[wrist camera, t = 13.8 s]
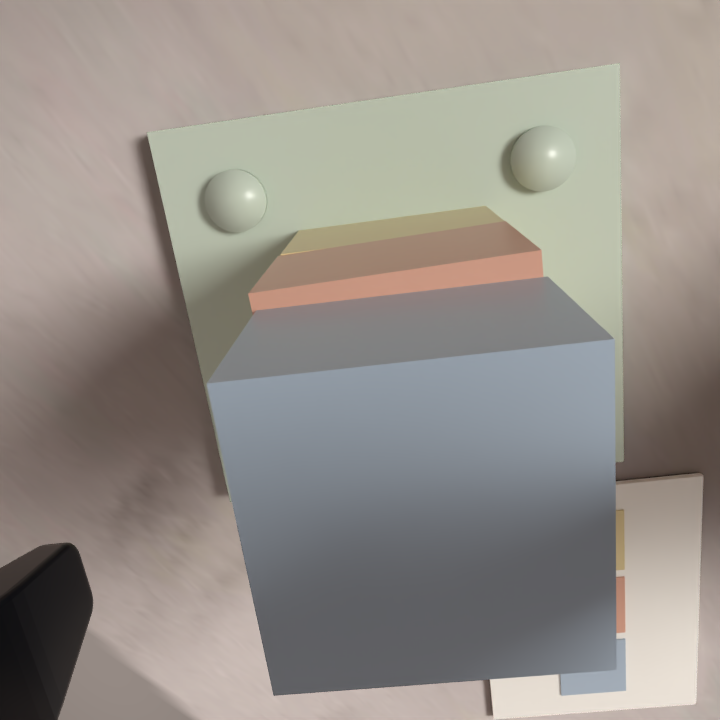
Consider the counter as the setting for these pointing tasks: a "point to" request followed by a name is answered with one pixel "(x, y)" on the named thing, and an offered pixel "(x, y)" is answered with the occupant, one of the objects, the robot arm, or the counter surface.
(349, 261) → the brick terracotta
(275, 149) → the plate
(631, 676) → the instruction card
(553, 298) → the brick slate
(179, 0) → the counter surface
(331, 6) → the counter surface
